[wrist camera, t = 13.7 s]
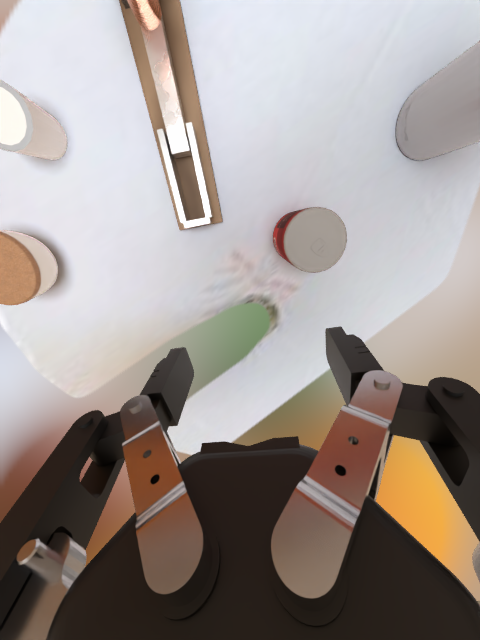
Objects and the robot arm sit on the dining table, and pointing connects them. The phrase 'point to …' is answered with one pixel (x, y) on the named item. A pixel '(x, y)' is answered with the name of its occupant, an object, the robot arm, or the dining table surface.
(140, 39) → the plank
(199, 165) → the guide sleeve
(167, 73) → the sliding bolt with handle
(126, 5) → the socket block
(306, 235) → the canned food
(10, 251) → the lidded jar
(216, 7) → the dining table surface
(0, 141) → the beige cylindrical piece
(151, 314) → the dining table surface
